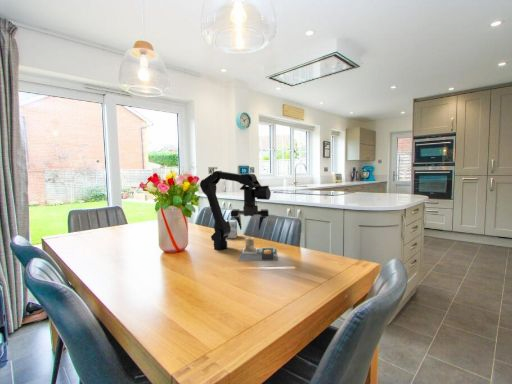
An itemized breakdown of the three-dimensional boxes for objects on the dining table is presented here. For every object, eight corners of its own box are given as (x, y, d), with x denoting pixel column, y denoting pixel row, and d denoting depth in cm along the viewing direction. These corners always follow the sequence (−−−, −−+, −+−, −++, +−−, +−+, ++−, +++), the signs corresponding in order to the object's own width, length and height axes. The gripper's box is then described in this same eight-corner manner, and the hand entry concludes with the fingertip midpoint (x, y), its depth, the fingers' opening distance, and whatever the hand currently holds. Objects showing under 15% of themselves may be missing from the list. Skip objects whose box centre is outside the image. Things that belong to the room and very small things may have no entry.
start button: (263, 258, 122) (263, 251, 122) (264, 255, 125) (263, 249, 125) (271, 258, 122) (271, 251, 121) (271, 255, 125) (271, 249, 125)
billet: (245, 253, 131) (245, 239, 131) (246, 250, 135) (246, 237, 135) (253, 253, 131) (253, 239, 130) (254, 250, 135) (253, 237, 134)
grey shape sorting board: (238, 263, 120) (238, 255, 120) (242, 251, 138) (242, 244, 138) (277, 262, 119) (277, 255, 119) (276, 250, 137) (276, 244, 137)
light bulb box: (237, 235, 171) (237, 219, 170) (235, 238, 164) (235, 221, 164) (221, 235, 172) (220, 219, 171) (219, 238, 166) (218, 221, 165)
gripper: (228, 201, 123) (229, 233, 124) (268, 200, 122) (268, 233, 123) (232, 198, 134) (232, 228, 135) (268, 198, 133) (268, 228, 134)
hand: (250, 229), depth 132 cm, fingers open, 9 cm apart
